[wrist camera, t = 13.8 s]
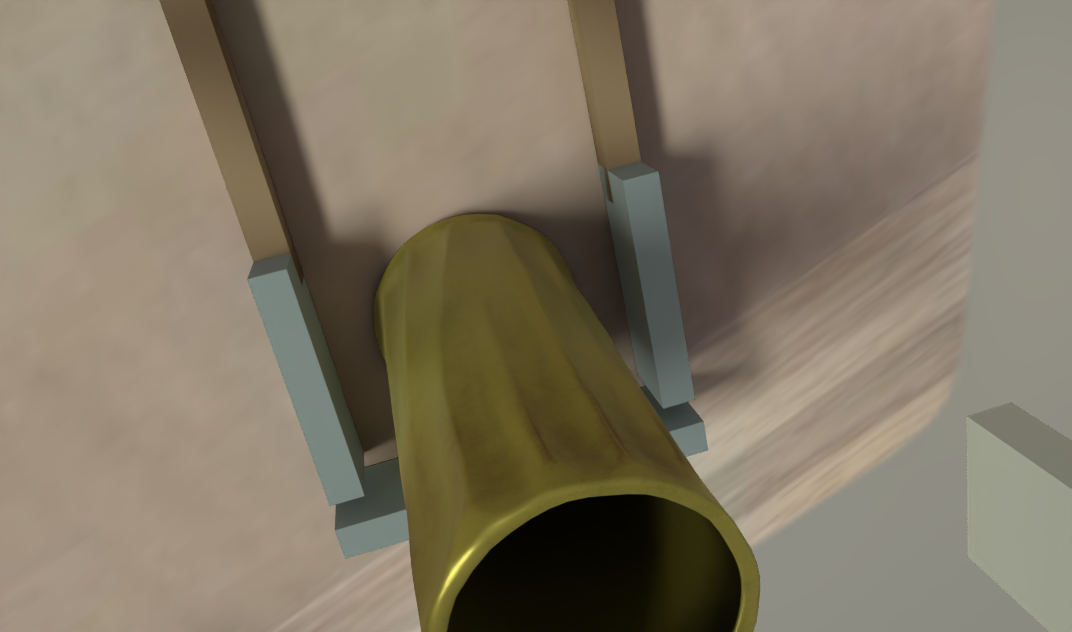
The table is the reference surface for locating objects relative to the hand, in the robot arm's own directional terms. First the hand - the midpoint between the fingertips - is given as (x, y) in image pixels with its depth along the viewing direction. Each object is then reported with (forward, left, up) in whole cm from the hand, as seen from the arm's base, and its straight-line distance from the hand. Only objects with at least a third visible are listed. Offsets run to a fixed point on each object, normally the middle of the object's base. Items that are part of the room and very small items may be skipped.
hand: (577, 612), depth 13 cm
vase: (0, 0, -14) cm, 14 cm away
